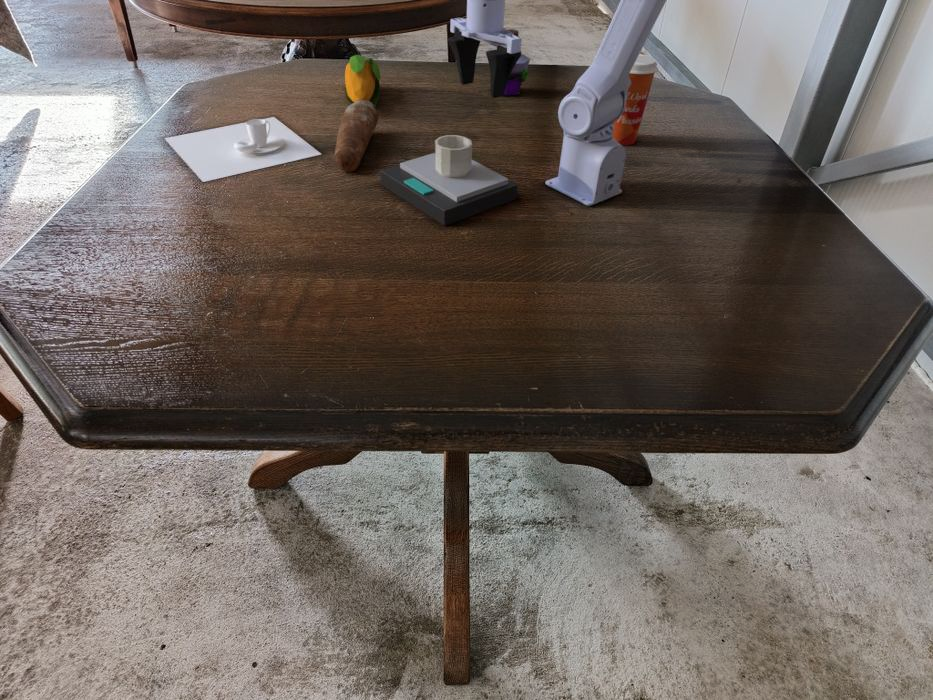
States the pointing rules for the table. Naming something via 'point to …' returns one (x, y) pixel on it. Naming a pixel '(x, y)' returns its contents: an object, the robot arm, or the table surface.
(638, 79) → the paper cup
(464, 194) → the scale
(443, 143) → the white faceted cup
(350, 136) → the brown yam
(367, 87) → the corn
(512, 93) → the potion bottle
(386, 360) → the table surface
